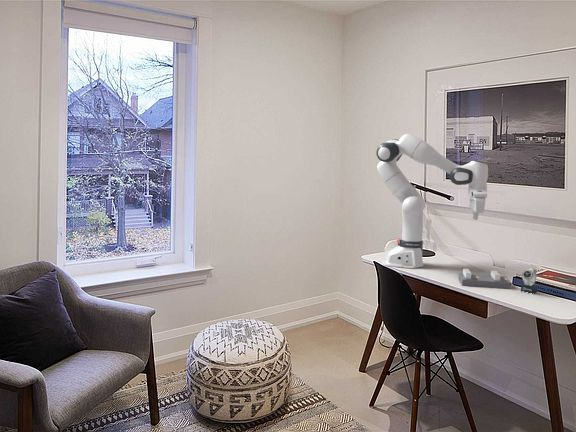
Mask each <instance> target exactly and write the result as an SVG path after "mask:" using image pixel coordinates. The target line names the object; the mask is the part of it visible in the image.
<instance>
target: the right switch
mask: <svg viewBox="0 0 576 432" xmlns="http://www.w3.org/2000/svg"><path fill="white" fill-rule="evenodd" d="M490 275H491V277H492V278H493V279H494V280H495V281H500V276H501V274H500V273H499V272H498V271H497V270H490Z"/></svg>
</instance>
